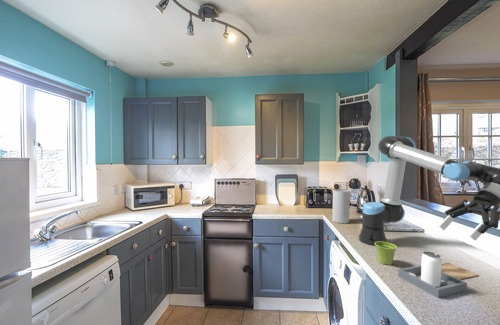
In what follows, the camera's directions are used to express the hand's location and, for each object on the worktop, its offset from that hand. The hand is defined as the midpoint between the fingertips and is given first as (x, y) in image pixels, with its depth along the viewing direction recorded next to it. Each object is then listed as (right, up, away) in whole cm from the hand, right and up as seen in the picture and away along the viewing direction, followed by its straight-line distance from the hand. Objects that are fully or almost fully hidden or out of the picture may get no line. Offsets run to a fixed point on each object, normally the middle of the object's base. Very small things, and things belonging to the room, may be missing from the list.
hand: (455, 232), depth 96 cm
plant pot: (-19, -20, +18) cm, 33 cm away
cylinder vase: (-13, -18, +89) cm, 92 cm away
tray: (-11, -21, 0) cm, 23 cm away
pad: (+8, -21, +10) cm, 24 cm away
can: (-11, -21, 0) cm, 24 cm away
